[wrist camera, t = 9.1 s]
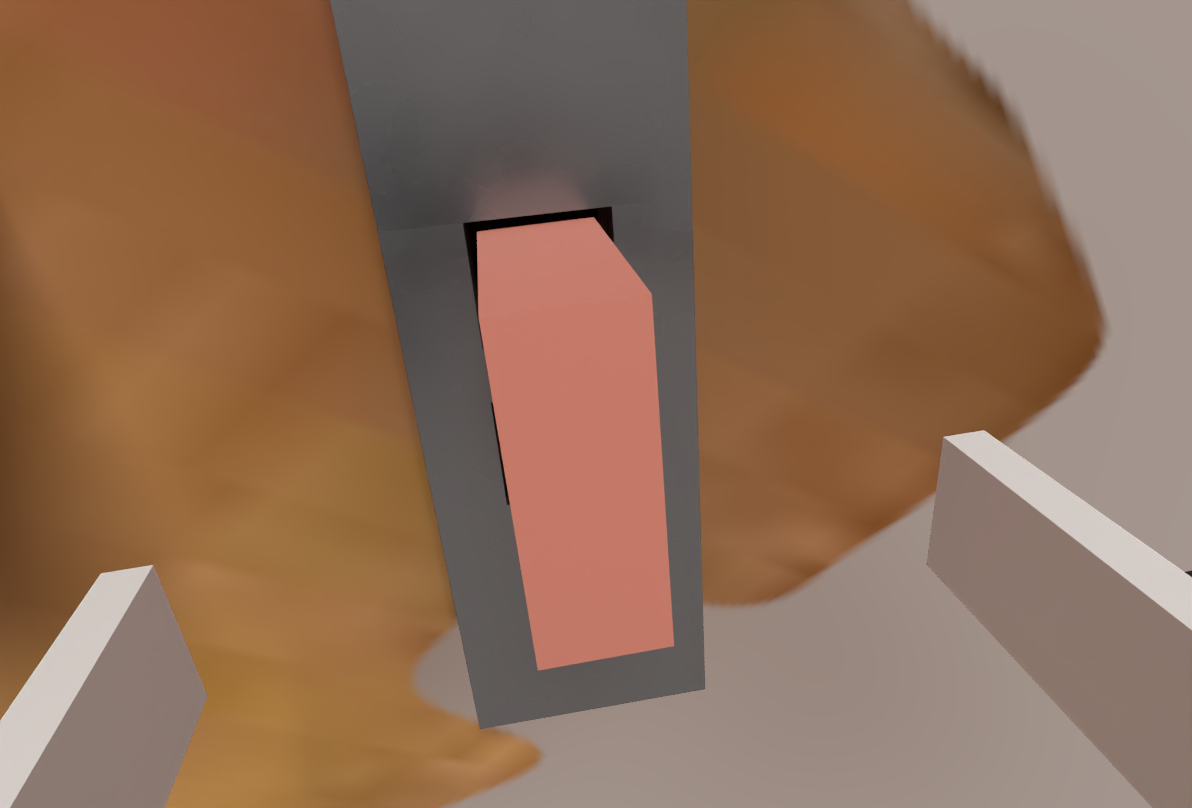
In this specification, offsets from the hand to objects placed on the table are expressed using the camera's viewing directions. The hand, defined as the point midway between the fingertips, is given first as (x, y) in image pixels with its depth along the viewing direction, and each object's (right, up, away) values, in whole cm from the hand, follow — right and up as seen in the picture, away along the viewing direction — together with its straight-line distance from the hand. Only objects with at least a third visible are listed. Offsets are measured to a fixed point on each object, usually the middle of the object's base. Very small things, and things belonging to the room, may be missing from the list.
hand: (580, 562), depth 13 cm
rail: (-1, +5, +11) cm, 12 cm away
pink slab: (-1, +5, +11) cm, 12 cm away
